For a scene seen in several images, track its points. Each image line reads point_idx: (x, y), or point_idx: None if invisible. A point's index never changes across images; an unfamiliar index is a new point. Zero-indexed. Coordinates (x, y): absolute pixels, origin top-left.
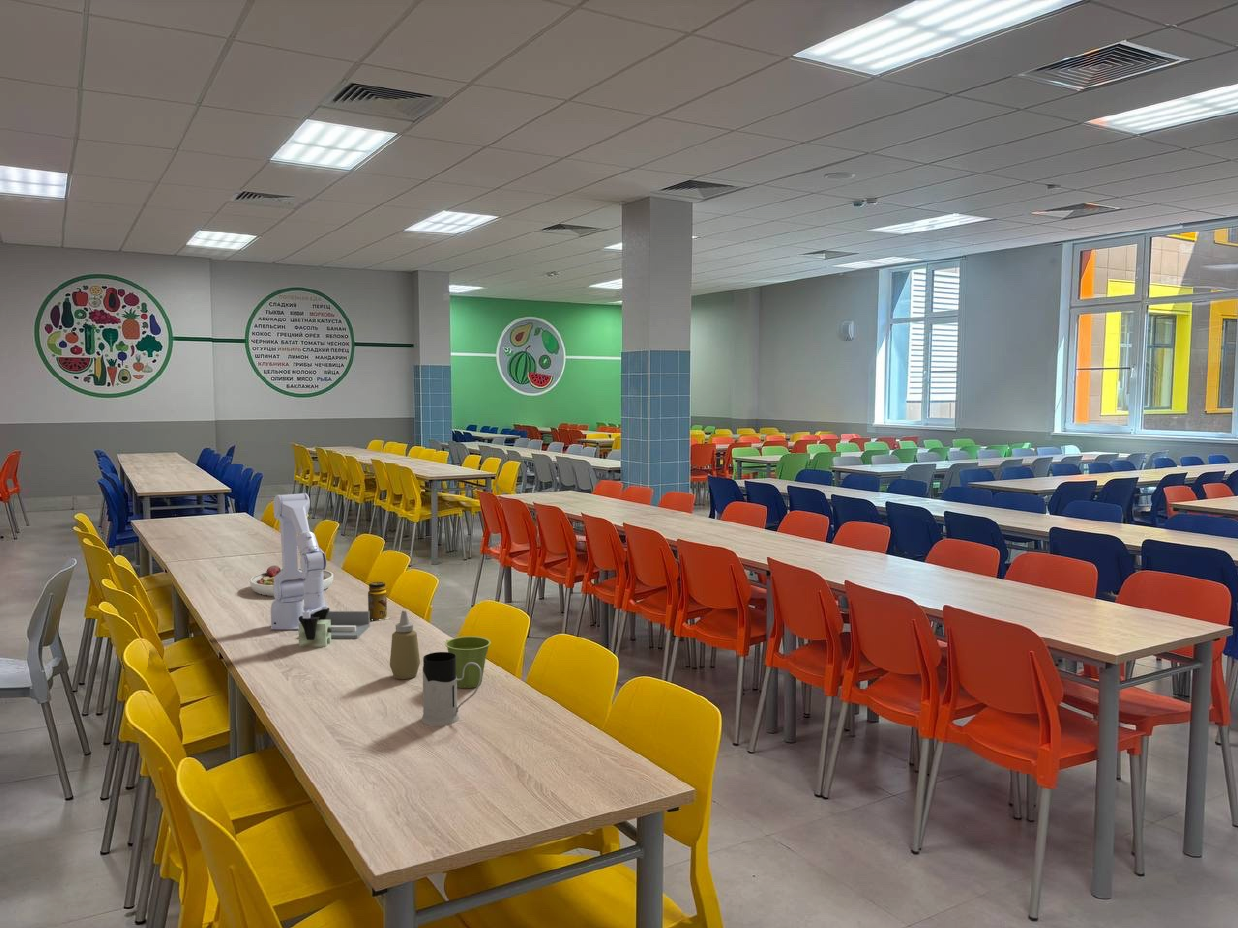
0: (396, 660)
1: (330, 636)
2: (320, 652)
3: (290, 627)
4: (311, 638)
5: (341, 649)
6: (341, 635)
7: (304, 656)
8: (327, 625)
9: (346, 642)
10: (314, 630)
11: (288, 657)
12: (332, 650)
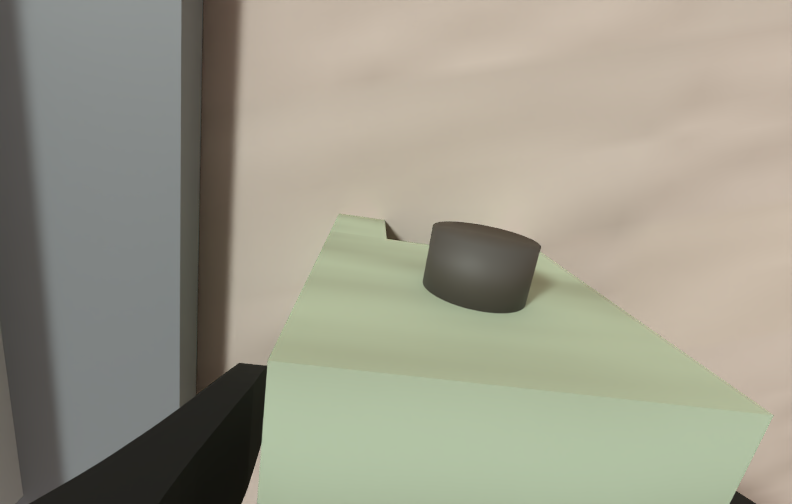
0: None
1: (350, 232)
2: (717, 257)
3: None
4: None
5: (686, 33)
6: (182, 101)
7: (787, 374)
8: (539, 340)
9: (390, 7)
10: (747, 502)
11: (760, 483)
12: (689, 141)
